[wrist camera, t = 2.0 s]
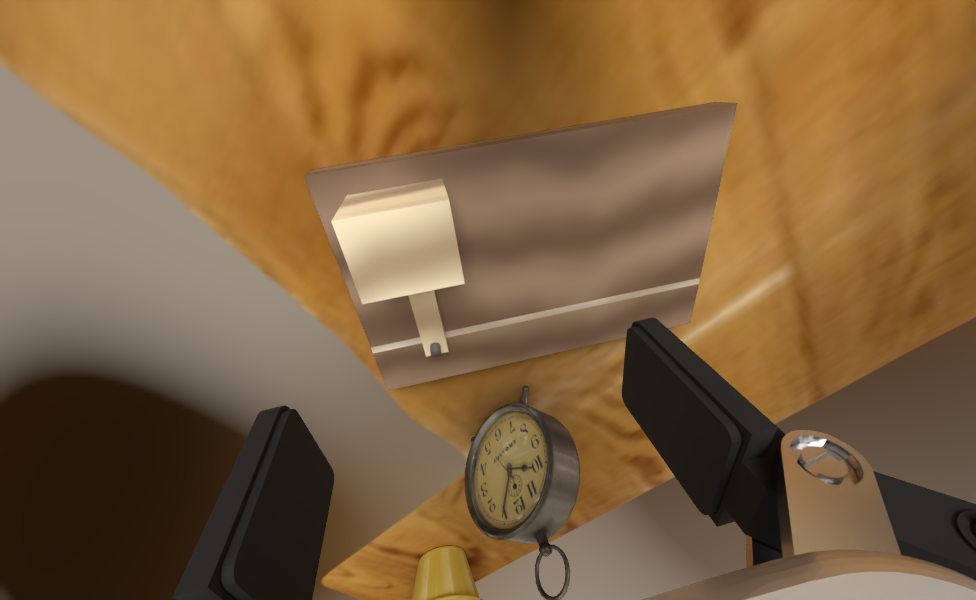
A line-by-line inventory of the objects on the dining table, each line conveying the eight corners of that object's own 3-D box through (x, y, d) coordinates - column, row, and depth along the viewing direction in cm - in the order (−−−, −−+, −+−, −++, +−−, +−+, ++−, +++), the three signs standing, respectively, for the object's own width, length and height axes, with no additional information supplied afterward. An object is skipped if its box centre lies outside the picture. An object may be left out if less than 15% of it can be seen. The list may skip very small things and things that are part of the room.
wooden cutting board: (312, 169, 23) (303, 176, 21) (715, 102, 25) (737, 103, 24) (388, 374, 32) (387, 390, 31) (676, 311, 35) (690, 323, 33)
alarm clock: (522, 371, 35) (591, 553, 21) (558, 391, 38) (642, 567, 24) (454, 438, 38) (478, 634, 25) (492, 453, 41) (532, 638, 27)
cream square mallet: (346, 195, 22) (330, 221, 18) (442, 178, 23) (449, 200, 18) (399, 352, 29) (397, 398, 25) (472, 337, 29) (482, 379, 25)
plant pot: (443, 529, 47) (450, 623, 39) (492, 549, 52) (507, 636, 44) (388, 565, 49) (384, 662, 41) (441, 581, 54) (446, 670, 46)
